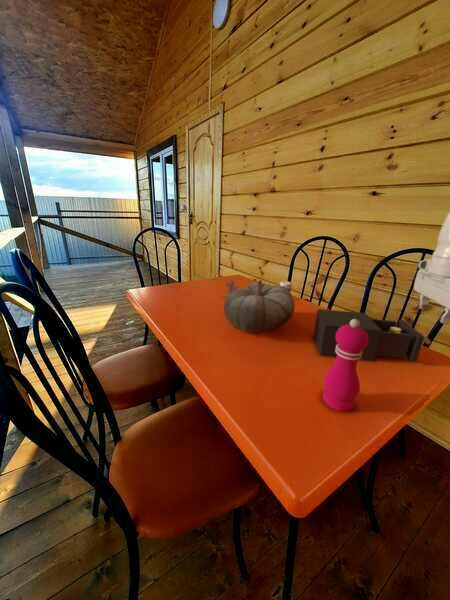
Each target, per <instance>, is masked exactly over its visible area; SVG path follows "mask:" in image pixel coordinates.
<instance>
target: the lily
mask: <svg viewBox="0 0 450 600" xmlns="http://www.w3.org/2000/svg"><path fill="white" fill-rule="evenodd" d="M223 283H224V284H225V286H226V287H227V289H226V291H225V296H224V298H227V296H228V295H229V294H230V293H231V292H232V291H234V290H238V289H240V286H239V285H237V284H236V281H235V279H234V277H233V276H232V275H231V276H230V280H229V282H228V281H226V280H223Z"/></svg>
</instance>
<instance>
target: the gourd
mask: <svg viewBox="0 0 450 600" xmlns="http://www.w3.org/2000/svg"><path fill="white" fill-rule="evenodd" d="M295 306H296V305H295V300H294V297H293V295H292V293H290V292H289V290H288V289H287V288H286V287H284V286H280V285H275V284H274V285H271V284H268V283H267V284H266V283H264V282H263V281H262V280H258V282H253V283H250V284H248V285H247V286H244V287H243V288H239V289H238V290H234V291H232V292H231V293H230V294H227V295H226V297H225V300H224V305H223V312H224V313H223V314H224V316H225V319H226V320H227V322H229V324H231V326H232V327H234V328H235V329H237V330H241V331H243V332H244V333H247V334H249V335H254V336H258V335H262V334H266V333H269V332H273V331H276V330H279V329H281V328H282V327H283V326H285V325H286V324H287V323H288V322H289V321H290V319H291V318H292V316H293V315H294V312H295Z"/></svg>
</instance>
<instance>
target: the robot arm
mask: <svg viewBox="0 0 450 600" xmlns="http://www.w3.org/2000/svg"><path fill="white" fill-rule="evenodd" d="M418 268H419V269H418V270H417V273H416V276H415V279H414V283H413V289H414V291H415V292H417V293H418V294H420V295H419V300H420V302H419V304H420V305H419V310H421V311H423V312H429V309H430V307H431V306H430V300H431V301H433V302H435V303H437V304H439V305H440V306H442V307H445V308H444V313H443V314H441V315H439V318H438V322H439V323H441V324H444V325H448V324H450V211H449V212H448V213H447V215H446V216H445V218H444V221H443V222H442V225H441V228H440V230H439V233H438V236H437V245H436V248H435V250H434V251H433V252H432V255H431V257H430V258H427V259H423V260H420V261H419V263H418Z"/></svg>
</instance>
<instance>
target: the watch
mask: <svg viewBox="0 0 450 600" xmlns="http://www.w3.org/2000/svg"><path fill="white" fill-rule="evenodd" d="M397 327H398V326H395V327H391V328H390V329H389V330H388V332H394V333H400V332H401V329H400V328H397Z"/></svg>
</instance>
